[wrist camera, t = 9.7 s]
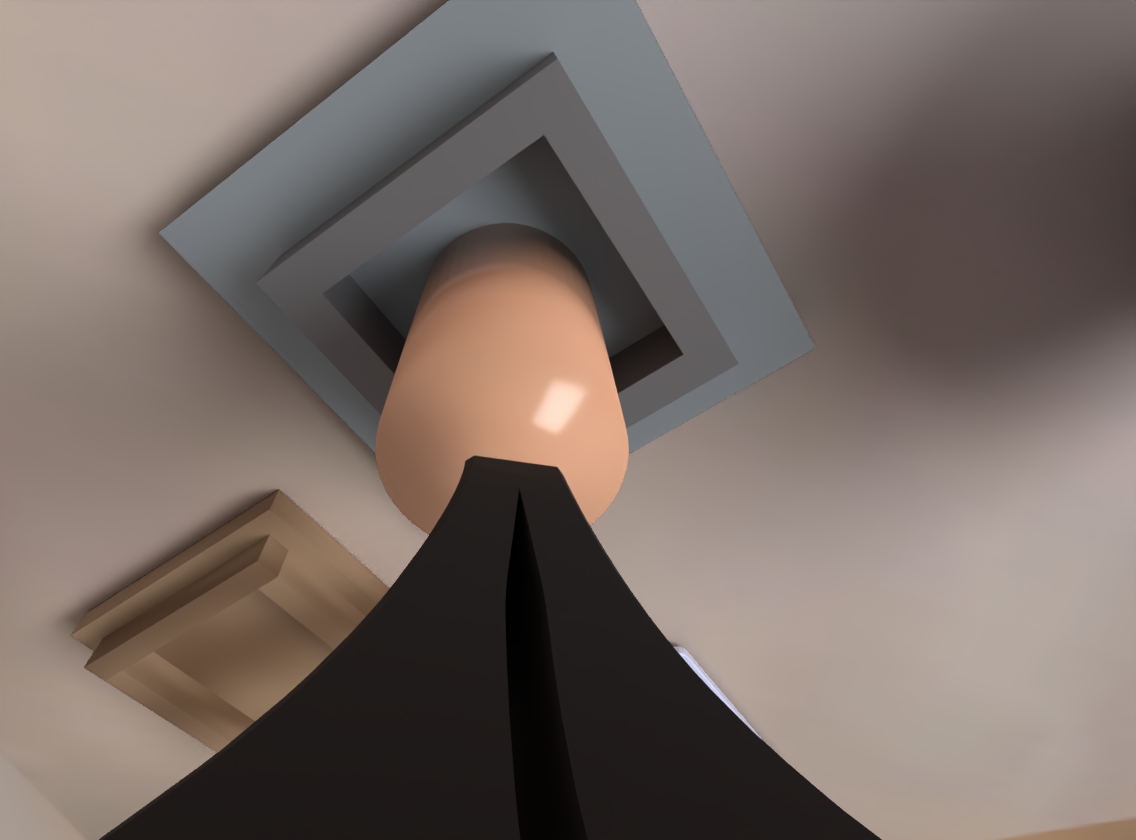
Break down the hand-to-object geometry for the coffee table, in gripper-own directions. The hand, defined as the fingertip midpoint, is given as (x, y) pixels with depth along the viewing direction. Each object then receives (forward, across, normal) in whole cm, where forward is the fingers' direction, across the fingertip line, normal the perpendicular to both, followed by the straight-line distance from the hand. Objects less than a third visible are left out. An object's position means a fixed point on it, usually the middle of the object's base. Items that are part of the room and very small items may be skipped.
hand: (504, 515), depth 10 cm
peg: (+9, 0, 0) cm, 9 cm away
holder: (+10, +6, +14) cm, 19 cm away
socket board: (+10, 0, 0) cm, 10 cm away
